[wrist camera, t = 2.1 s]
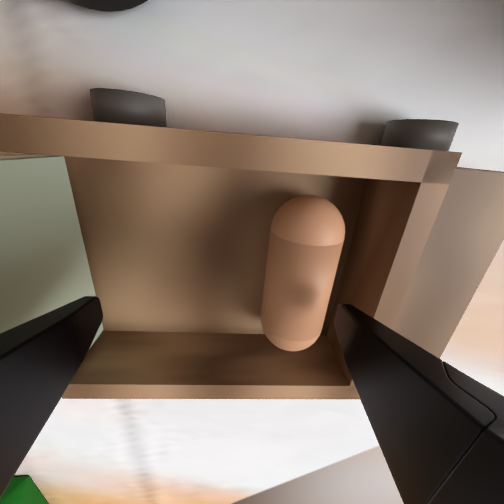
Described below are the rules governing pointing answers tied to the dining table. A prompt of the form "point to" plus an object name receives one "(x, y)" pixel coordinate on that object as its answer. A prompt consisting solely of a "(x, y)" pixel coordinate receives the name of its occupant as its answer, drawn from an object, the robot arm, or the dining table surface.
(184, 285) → the wooden drawer box
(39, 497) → the milk carton
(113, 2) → the beverage can
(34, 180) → the tailgate
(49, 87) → the dining table surface
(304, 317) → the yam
